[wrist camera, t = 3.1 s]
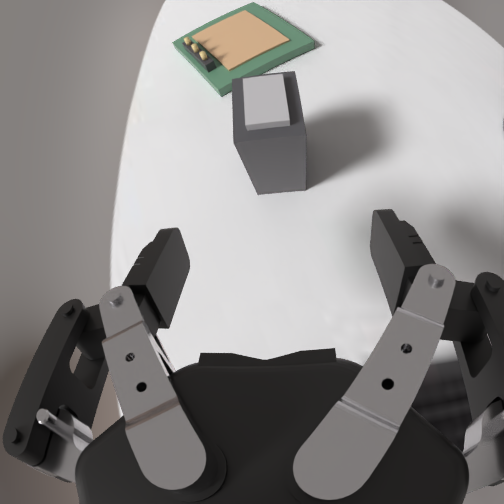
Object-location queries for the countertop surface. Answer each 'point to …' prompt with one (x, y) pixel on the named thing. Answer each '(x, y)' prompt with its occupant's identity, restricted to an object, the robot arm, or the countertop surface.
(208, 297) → the countertop surface
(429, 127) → the countertop surface
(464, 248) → the countertop surface
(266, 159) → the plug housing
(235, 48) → the circuit board
